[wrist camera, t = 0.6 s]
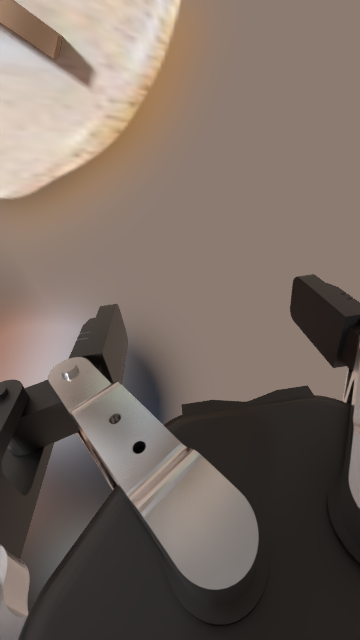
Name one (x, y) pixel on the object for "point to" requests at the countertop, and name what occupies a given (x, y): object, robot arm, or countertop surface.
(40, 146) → the countertop surface
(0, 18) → the corner walls
